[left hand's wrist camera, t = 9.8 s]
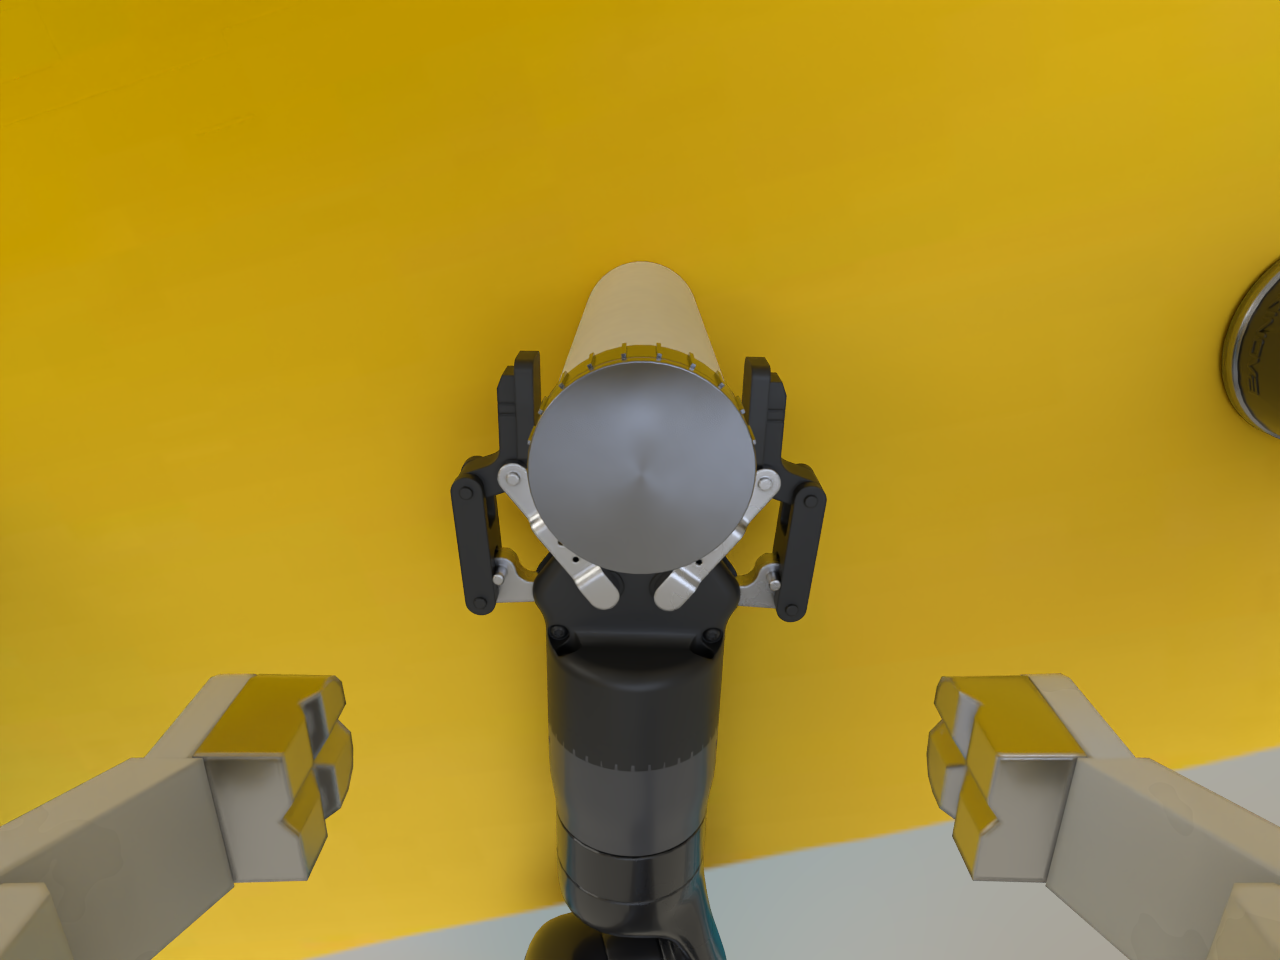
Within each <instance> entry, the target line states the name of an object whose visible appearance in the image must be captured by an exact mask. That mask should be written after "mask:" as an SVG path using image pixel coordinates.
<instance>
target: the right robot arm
mask: <svg viewBox="0 0 1280 960" xmlns="http://www.w3.org/2000/svg"><path fill="white" fill-rule="evenodd" d="M1222 376H1223V382H1224V386H1225V390H1226V393H1227V395H1228V397H1229V400H1230V402H1231V403H1232V405H1233V407H1234V408H1235V410H1236V411H1237V412H1238V413H1239V415H1240V416H1241V417H1242V418H1243V419H1245V420H1246V421H1247V422H1248V423H1249V424H1251V425H1252V426H1253V427H1255V428H1257V429H1259V430H1261V431H1263V432H1265V433H1267V434H1269V435H1271V436H1274V437H1276V438H1278V439H1280V260H1278V261H1277V262H1276V263H1275V264H1274V265H1272V266H1271V267H1270V268H1269V269H1268V270H1267V271H1266V272H1265V273H1264V274H1263V275H1262V276H1261V277H1260V278H1259V279H1258V280H1257V282H1256V283H1255V284H1254V285H1253V286H1252V288H1251V289H1250V290H1249V291H1248V293H1247V294H1246V296H1245V297H1244V299H1243V300H1242V302H1241V303H1240V305H1239V307H1238V309H1237V310H1236V312H1235V314H1234V316H1233V319H1232V321H1231V323H1230V325H1229V328H1228V331H1227V334H1226V338H1225V342H1224V346H1223V353H1222ZM497 401H498V423H499V446H500V450H499V451H498V452H496V453H494V454H491V455H488V456H485V457H482V456H473V457H470V458H469V459H467V460H466V462H465V463H464V465H463V467H462V470H461V473H460V474H459V476H458V477H457V478H456V479H455V481H454V483H453V485H452V487H451V499H452V507H453V514H454V521H455V529H456V536H457V544H458V551H459V558H460V566H461V573H462V580H463V588H464V595H465V602H466V606H467V608H468V609H469V610H470V611H471V612H472V613H474V614H477V615H486V614H489V613H490V612H492V611H493V609H494V608H495V605H496V603H501V602H532V601H535V603H536V605H537V606H538V608H539V609H540V610H541V612H542V614H543V616H544V619H545V623H546V643H547V685H548V723H549V758H550V771H551V777H552V782H553V787H554V792H555V798H556V833H557V869H558V878H559V884H560V889H561V892H562V895H563V897H564V900H565V902H566V904H567V905H568V907H569V908H570V910H571V911H572V912H571V913H567V914H564V915H560V916H558V917H556V918H553V919H551V920H549V921H548V922H546V923H545V924H544V925H543V926H542V927H541V928H540V929H539V930H538V931H537V933H536V934H535V936H534V938H533V939H532V941H531V943H530V945H529V948H528V950H527V953H526V956H525V960H726V955H725V951H724V948H723V945H722V942H721V939H720V936H719V933H718V930H717V927H716V924H715V922H714V919H713V916H712V912H711V909H710V905H709V900H708V896H707V890H706V884H705V877H704V868H703V856H704V842H705V827H706V813H707V801H708V797H709V792H710V789H711V785H712V781H713V776H714V770H715V761H716V749H717V735H718V721H719V707H720V694H721V680H722V666H723V652H724V638H725V628H726V624H727V621H728V619H729V617H730V616H731V614H732V613H733V612H734V610H735V609H736V608H737V606H751V607H764V608H776V611H777V614H778V616H779V617H780V618H781V619H782V620H784V621H786V622H795V621H798V620H800V619H801V618H802V617H803V616H804V615H805V613H806V610H807V604H808V599H809V594H810V588H811V583H812V577H813V572H814V566H815V561H816V556H817V550H818V545H819V539H820V534H821V528H822V523H823V518H824V512H825V507H826V500H827V499H826V494H825V493H824V491H823V489H822V487H821V485H820V483H819V481H818V479H817V478H816V476H815V474H814V472H813V470H812V469H811V468H810V467H809V466H808V465H806V464H794V463H791V462H788V461H786V460H784V459H782V458H781V450H782V439H783V428H784V418H785V407H786V393H785V389H784V386H783V383H782V381H781V380H780V378H779V376H778V375H777V373H771V370H770V365H769V364H768V362H767V360H766V359H765V357H746V359H745V365H744V379H743V393H742V405H743V407H744V410H745V413H744V414H743V415H744V418H745V420H746V423H747V426H748V425H750V427H751V430H752V432H753V435H754V437H755V440H756V444H754V448H755V453H756V466H757V467H756V471H757V476H756V481H755V486H754V491H753V495H752V498H751V501H750V504H749V506H748V509H747V511H746V512H745V514H744V516H743V518H742V520H741V522H740V523H739V524H738V526H737V527H736V529H735V530H734V531H733V533H732V534H731V535H730V536H729V537H728V538H727V539H726V540H725V541H724V542H723V543H722V544H721V545H720V546H719V547H717V548H716V549H715V550H714V551H712V552H711V553H709V554H708V555H706V556H705V557H703V558H702V559H700V560H698V561H696V562H694V563H692V564H690V565H687V566H684V567H681V568H679V569H676V570H671V571H667V572H663V573H654V574H629V573H621V572H616V571H612V570H608V569H605V568H602V567H599V566H597V565H594V564H592V563H590V562H588V561H586V560H584V559H582V558H580V557H579V556H577V555H576V554H574V553H573V552H571V551H570V550H568V549H567V548H566V547H565V546H564V545H563V544H562V543H560V542H559V541H558V540H557V539H556V538H555V536H554V535H553V534H552V533H551V532H550V531H549V530H548V528H547V527H546V525H545V524H544V522H543V521H542V519H541V517H540V515H539V513H538V511H537V509H536V507H535V505H534V502H533V499H532V496H531V493H530V488H529V483H528V477H527V460H528V450H529V446H530V445H528V444H527V442H528V439H529V436H530V434H531V431H532V429H533V426H536V424H537V422H538V419H539V417H540V414H539V413H538V411H539V408H540V406H541V382H540V354H539V351H520V352H519V354H518V355H517V357H516V359H515V362H514V366H507V368H506V369H505V371H504V373H503V374H502V376H501V379H500V382H499V384H498V387H497ZM504 492H506V494H507V495H508V496H509V497H510V498H511V500H512V501H513V502H514V503H515V504H516V505H517V507H518V508H519V509H520V510H521V511H522V512H523V514H524V515H525V516H526V517H527V519H528V520H529V523H530V526H531V529H532V531H533V532H534V534H535V535H536V536H537V537H538V539H539V540H540V541H541V542H542V543H543V544H544V546H545V547H546V548H547V549H548V550H549V551H550V552H549V553H548V554H547V556H546V557H545V558H544V559H543V561H542V562H541V563H540V565H539V566H538V568H537V571H529V570H527V569H525V568H524V567H523V566H522V565H521V564H520V562H519V559H518V556H517V554H516V553H515V552H514V551H513V550H511V549H510V548H502V544H501V535H500V527H499V518H498V509H497V500H496V495H497V494H501V493H504ZM772 498H773V499H776V500H779V501H781V502H780V508H779V515H778V521H777V527H776V533H775V539H774V546H773V552H772V553H765V554H763V555H762V556H760V557H759V558H758V559H757V561H756V563H755V566H754V568H753V570H752V571H751V572H749V573H748V574H746V575H742V576H737V573H736V571H735V569H734V567H733V566H732V565H731V563H730V562H729V561H728V559H727V558H726V556H725V555H726V554H727V553H728V552H729V551H730V550H731V549H732V548H733V547H734V546H735V545H736V544H737V542H738V541H739V540H740V539H741V538H742V537H743V535H744V533H745V531H746V528H747V526H748V524H749V522H750V521H751V520H752V519H753V518H754V517H755V516H756V515H757V514H758V513H759V512H760V511H761V509H762V508H763V507H764V506H765V505H766V504H767V503H768V502H769V501H770V500H771V499H772Z"/></svg>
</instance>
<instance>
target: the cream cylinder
mask: <svg viewBox="0 0 1280 960" xmlns="http://www.w3.org/2000/svg"><path fill="white" fill-rule="evenodd" d="M622 343H627V346H630V345H654V346H656V343H661V347H666V348H670V349H674V350H677V351H680V352H683V353H685V354H687V355H688V354H689V352H691V353H693V354H694V358H695V359H697V360H699V361H700V362H702V363H704V364H705V365H707V366H708V367H709V368H710V369H712V370H713V371H714V372H716V371H717V370H718V371H719V372H720V373H721V370H720V368H719V365H718V362H717V359H716V357H715V354H714V351H713V348H712V346H711V343H710V340H709V337H708V335H707V332H706V329H705V326H704V324H703V321H702V318H701V315H700V313H699V310H698V307H697V304H696V302H695V299H694V296H693V294H692V292H691V290H690V288H689V287H688V285H687V284H686V283H685V281H684V280H683V279H682V278H681V277H680V276H679V275H677V274H676V273H675V272H674V271H672V270H670V269H669V268H667V267H664V266H662V265H660V264H656V263H652V262H631V263H627V264H623V265H621V266H619V267H616V268H615V269H613V270H611V271H610V272H608V273H607V274H606V275H604V276H603V277H602V278H601V279H600V280H599V282H598V283H597V284H596V286H595V287H594V289H593V290H592V292H591V294H590V297H589V299H588V302H587V304H586V307H585V310H584V313H583V316H582V318H581V321H580V324H579V327H578V329H577V332H576V335H575V338H574V341H573V343H572V346H571V349H570V352H569V354H568V357H567V360H566V363H565V366H564V368H563V371H562V374H563V372H565V371H566V372H567V373H568V372H569V371H571V370H572V369H573V368H574V367H576V366H577V365H578V364H580V363H581V362H583V361H585V360H586V359H588V358H589V355H590V354H591V353H593V352H594V354H595V355H596V354H599V353H601V352H604V351H606V350H610V349H613V348H617V347H622ZM562 374H561V376H562ZM721 376H722V373H721ZM722 378H723V376H722ZM560 379H561V377H560ZM560 379H559V381H560ZM723 381H724V379H723ZM724 382H725V381H724ZM558 383H559V382H558Z"/></svg>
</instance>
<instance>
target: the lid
mask: <svg viewBox="0 0 1280 960" xmlns="http://www.w3.org/2000/svg"><path fill="white" fill-rule="evenodd" d="M538 413H539V414H540V417H539V419H538V422H537V424H536V426H533V429H532V431H531V434H530V436H529V439H528V442H527V444H528V445H530V446H529V450H528V460H527V477H528V483H529V488H530V493H531V496H532V499H533V502H534V505H535V507H536V509H537V511H538V513H539V515H540V517H541V519H542V521H543V522H544V524H545V525H546V527H547V528H548V530H549V531H550V532H551V533H552V534H553V535H554V536H555V538H556V539H557V540H558V541H559V542H560V543H562V544H563V545H564V546H565V547H566V548H567V549H568V550H570V551H571V552H573V553H574V554H576V555H577V556H579V557H580V558H582V559H584V560H586V561H588V562H590V563H592V564H594V565H597V566H599V567H602V568H605V569H608V570H612V571H616V572H621V573H629V574H654V573H663V572H667V571H671V570H676V569H679V568H681V567H684V566H687V565H690V564H692V563H694V562H696V561H698V560H700V559H702V558H703V557H705V556H706V555H708V554H709V553H711V552H712V551H714V550H715V549H716V548H717V547H719V546H720V545H721V544H722V543H723V542H724V541H725V540H726V539H727V538H728V537H729V536H730V535H731V534H732V533H733V531H734V530H735V529H736V527H737V526H738V524H739V523H740V522H741V520H742V518H743V516H744V514H745V512H746V511H747V509H748V506H749V504H750V501H751V498H752V495H753V491H754V486H755V481H756V476H757V471H756V467H757V466H756V453H755V448H754V444H756V440H755V437H754V435H753V432H752V430H751V427H750V425H748V426H747V423H746V420H745V418H744V415H743V414H744V413H745V410H744V407H743V405H742V402H741V400H740V398H739V396H736V397H735V396H734V394H733V393H732V391H731V390H730V388H729V387H728V386H727V384H726V383H725V382H724V381H723V378H722V376H721V373H720V372H719V371H718V370H717V371H716V372H714V371H713V370H712V369H710V368H709V367H708V366H707V365H705V364H704V363H702V362H700V361H699V360H697V359H695V358H694V354H693V353H691V352H689V354H688V355H687V354H685V353H683V352H680V351H677V350H674V349H670V348H666V347H661V343H656V346H654V345H630V346H627V343H622V347H617V348H613V349H610V350H606V351H604V352H601V353H599V354H596V355H595V354H594V352H593V353H591V354H590V355H589V358H588V359H586V360H585V361H583V362H581V363H580V364H578V365H577V366H576V367H574V368H573V369H572V370H571V371H569V372H568V373H567V372H566V371H565V372H563V374H562V376H561V379H560V381H559V383H558V384H557V385H556V386H555V388H554V389H553V390H552V392H551V393H550V395H549V397H546V396H545V397H544V399H543V401H542V403H541V406H540V408H539V411H538Z"/></svg>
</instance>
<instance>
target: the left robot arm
mask: <svg viewBox="0 0 1280 960" xmlns="http://www.w3.org/2000/svg"><path fill="white" fill-rule="evenodd" d="M345 704H346V701H345V696H344V691H343V686H342V682H341V681H340V680H339V679H338V678H337V677H336V676H331V675H284V674H259V675H256V674H219V675H216V676H214V677H211V678H210V679H209V680H208V681H207V682H206V684H205V685H204V686H203V687H202V688H201V690H200V691H199V692H198V693H197V695H196V696H195V697H194V698H193V699H192V701H191V702H190V703H189V704H188V705H187V707H186V708H185V709H184V710H183V711H182V713H181V714H180V715H179V716H178V717H177V719H176V720H175V721H174V722H173V724H172V725H171V726H170V727H169V728H168V730H167V731H166V732H165V733H164V734H163V736H162V737H161V738H160V739H159V740H158V742H157V743H156V744H155V745H154V746H153V748H152V749H151V750H150V751H149V753H148V754H147V755H146V756H145V757H144V758H130V759H128V760H126V761H125V762H123V763H121V764H119V765H117V766H115V767H113V768H111V769H109V770H107V771H106V772H104V773H102V774H100V775H98V776H96V777H94V778H92V779H90V780H88V781H87V782H85V783H83V784H81V785H79V786H77V787H75V788H73V789H71V790H69V791H67V792H66V793H64V794H62V795H60V796H58V797H56V798H54V799H52V800H50V801H48V802H47V803H45V804H43V805H41V806H39V807H37V808H35V809H33V810H31V811H29V812H28V813H26V814H24V815H22V816H20V817H18V818H16V819H14V820H12V821H10V822H9V823H7V824H5V825H3V826H1V827H0V960H151V959H152V958H153V957H154V956H155V955H156V954H158V953H159V952H160V951H161V950H162V949H163V948H164V947H166V946H167V945H168V944H169V943H170V942H171V941H173V940H174V939H175V938H176V937H177V936H178V935H179V934H181V933H182V932H183V931H184V930H185V929H186V928H187V927H189V926H190V925H191V924H192V923H193V922H194V921H195V920H197V919H198V918H199V917H200V916H201V915H202V914H203V913H205V912H206V911H207V910H208V909H209V908H210V907H212V906H213V905H214V904H215V903H216V902H217V901H218V900H220V899H221V898H222V897H223V896H224V895H225V894H226V893H228V892H229V891H230V890H231V889H232V888H233V887H234V883H240V882H274V881H307V880H308V878H309V875H310V873H311V871H312V869H313V867H314V865H315V863H316V860H317V858H318V856H319V854H320V852H321V850H322V847H323V845H324V843H325V841H326V839H327V837H328V835H327V829H326V823H325V819H326V818H328V817H329V816H330V815H332V814H333V813H335V812H336V811H337V810H339V809H340V808H341V806H342V804H343V801H344V799H345V797H346V794H347V792H348V789H349V784H350V779H351V774H352V769H353V744H352V737H351V732H350V731H349V730H348V729H347V728H346V727H345V726H344V725H343V724H342V723H341V722H340V721H339V720H338V718H339V716H340V714H341V712H342V710H343V708H344V706H345ZM934 704H935V706H936V708H937V710H938V712H939V714H940V716H941V718H942V720H941V721H940V722H939V723H938V724H937V725H936V726H935V727H934V728H933V729H932V730H931V731H930V732H929V738H928V746H927V766H928V777H929V781H930V784H931V788H932V792H933V794H934V797H935V799H936V801H937V804H938V806H939V808H940V809H941V810H943V811H944V812H945V813H947V814H948V815H950V816H951V817H952V818H954V819H955V823H954V829H953V835H952V837H953V839H954V841H955V843H956V845H957V847H958V850H959V852H960V854H961V856H962V858H963V860H964V862H965V865H966V867H967V869H968V871H969V873H970V875H971V877H972V880H973V881H1005V882H1040V883H1046V887H1047V888H1048V889H1049V890H1051V891H1052V892H1053V893H1054V894H1055V895H1056V896H1057V897H1059V898H1060V899H1061V900H1062V901H1063V902H1064V903H1065V904H1067V905H1068V906H1069V907H1070V908H1071V909H1072V910H1073V911H1075V912H1076V913H1077V914H1078V915H1079V916H1080V917H1081V918H1083V919H1084V920H1085V921H1086V922H1087V923H1088V924H1089V925H1091V926H1092V927H1093V928H1094V929H1095V930H1096V931H1097V932H1099V933H1100V934H1101V935H1102V936H1103V937H1104V938H1105V939H1107V940H1108V941H1109V942H1110V943H1111V944H1112V945H1114V946H1115V947H1116V948H1117V949H1118V950H1119V951H1120V952H1122V953H1123V954H1124V955H1125V956H1126V957H1127V958H1128V959H1130V960H1280V827H1279V826H1277V825H1275V824H1273V823H1271V822H1269V821H1267V820H1265V819H1264V818H1262V817H1260V816H1258V815H1256V814H1254V813H1252V812H1250V811H1248V810H1246V809H1245V808H1243V807H1241V806H1239V805H1237V804H1235V803H1233V802H1231V801H1229V800H1228V799H1226V798H1224V797H1222V796H1220V795H1218V794H1216V793H1214V792H1212V791H1210V790H1209V789H1207V788H1205V787H1203V786H1201V785H1199V784H1197V783H1195V782H1193V781H1191V780H1190V779H1188V778H1186V777H1184V776H1182V775H1180V774H1178V773H1176V772H1174V771H1173V770H1171V769H1169V768H1167V767H1165V766H1163V765H1161V764H1159V763H1157V762H1155V761H1154V760H1152V759H1150V758H1136V757H1135V756H1134V755H1133V754H1132V753H1131V751H1130V750H1129V749H1128V748H1127V747H1126V745H1125V744H1124V743H1123V742H1122V741H1121V739H1120V738H1119V737H1118V736H1117V734H1116V733H1115V732H1114V731H1113V730H1112V728H1111V727H1110V726H1109V725H1108V724H1107V722H1106V721H1105V720H1104V719H1103V718H1102V716H1101V715H1100V714H1099V713H1098V712H1097V710H1096V709H1095V708H1094V707H1093V706H1092V704H1091V703H1090V702H1089V701H1088V699H1087V698H1086V697H1085V696H1084V695H1083V693H1082V692H1081V691H1080V690H1079V689H1078V687H1077V686H1076V685H1075V684H1074V683H1073V681H1072V680H1071V679H1070V678H1069V677H1067V676H1065V675H1063V674H1061V673H1055V674H1023V675H1020V676H943V677H941V679H940V681H939V683H938V686H937V689H936V695H935V700H934Z"/></svg>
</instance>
